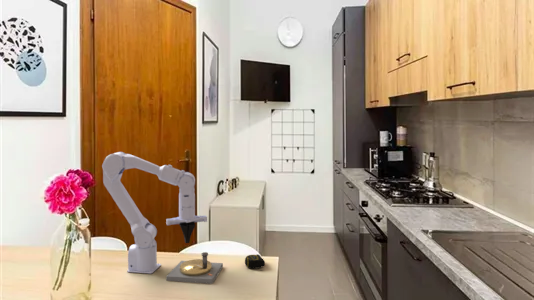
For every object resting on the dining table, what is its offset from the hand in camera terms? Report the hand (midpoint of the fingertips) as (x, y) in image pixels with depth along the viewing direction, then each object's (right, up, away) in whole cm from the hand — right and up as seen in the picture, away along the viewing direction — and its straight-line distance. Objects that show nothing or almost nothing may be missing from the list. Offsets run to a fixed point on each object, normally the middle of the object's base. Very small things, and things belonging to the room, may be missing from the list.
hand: (187, 242), depth 133 cm
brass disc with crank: (+4, -8, -5) cm, 11 cm away
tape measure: (+25, -10, +3) cm, 27 cm away
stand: (+4, -10, -5) cm, 12 cm away
